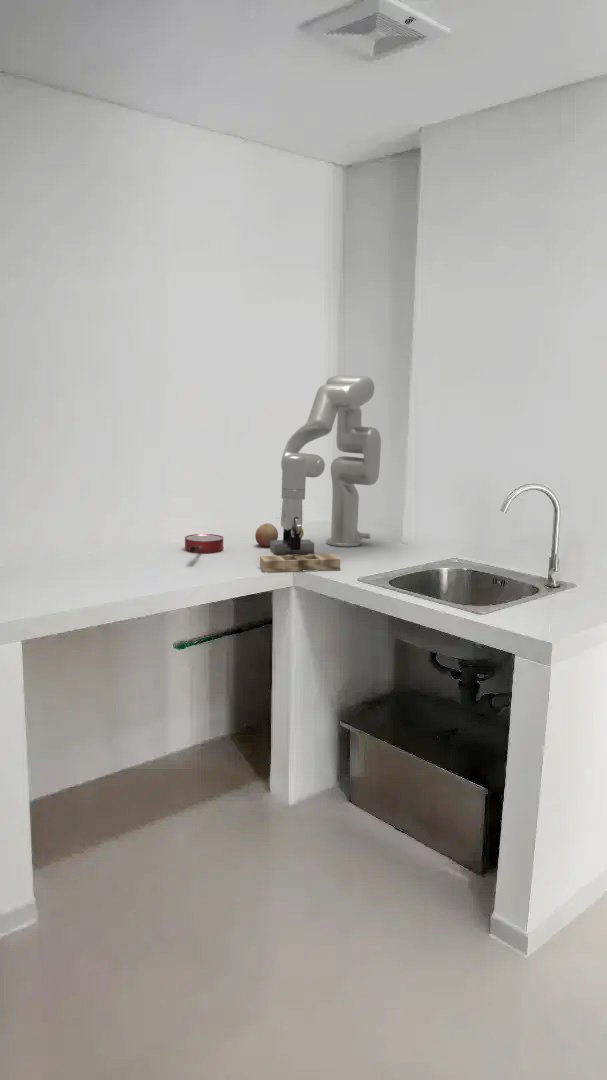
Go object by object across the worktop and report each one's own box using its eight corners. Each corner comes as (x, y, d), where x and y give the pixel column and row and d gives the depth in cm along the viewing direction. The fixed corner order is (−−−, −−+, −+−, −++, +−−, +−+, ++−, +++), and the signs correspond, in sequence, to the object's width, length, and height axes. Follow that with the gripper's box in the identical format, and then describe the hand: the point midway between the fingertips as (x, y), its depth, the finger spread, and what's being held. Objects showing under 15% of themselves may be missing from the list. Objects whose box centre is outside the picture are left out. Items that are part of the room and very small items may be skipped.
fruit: (250, 545, 281) (251, 523, 280) (270, 543, 286) (270, 521, 284) (262, 549, 275) (262, 526, 273) (282, 547, 279) (282, 525, 278)
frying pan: (221, 567, 247) (221, 547, 246) (179, 566, 246) (179, 546, 245) (223, 546, 279) (223, 528, 277) (186, 545, 277) (186, 528, 276)
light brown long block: (333, 564, 254) (333, 554, 253) (340, 570, 247) (340, 559, 246) (259, 567, 248) (260, 556, 247) (264, 572, 241) (264, 561, 240)
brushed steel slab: (308, 558, 262) (309, 539, 261) (313, 563, 256) (314, 543, 255) (270, 559, 259) (270, 540, 257) (274, 564, 253) (274, 544, 251)
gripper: (275, 490, 260) (274, 542, 263) (288, 497, 244) (286, 552, 247) (297, 491, 262) (296, 541, 265) (311, 497, 246) (309, 551, 249)
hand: (291, 546), depth 256 cm, fingers open, 9 cm apart
